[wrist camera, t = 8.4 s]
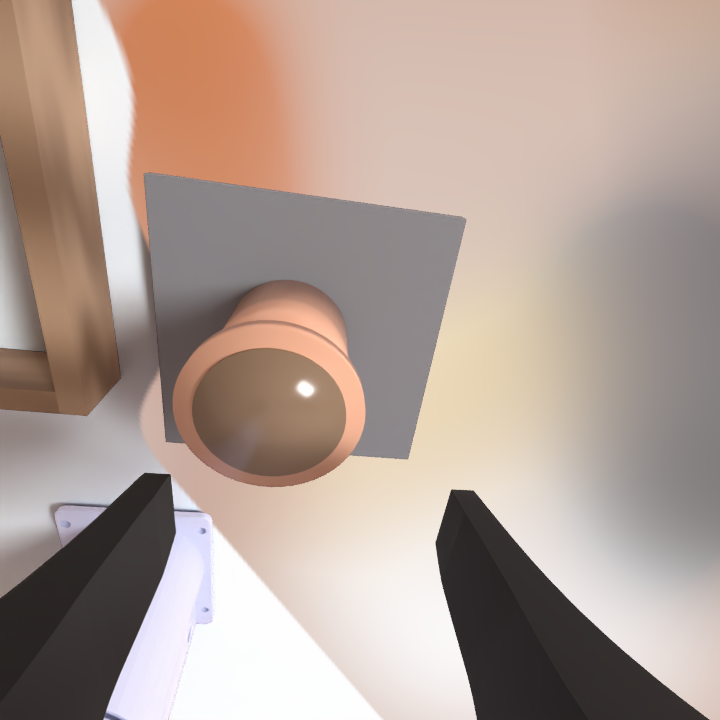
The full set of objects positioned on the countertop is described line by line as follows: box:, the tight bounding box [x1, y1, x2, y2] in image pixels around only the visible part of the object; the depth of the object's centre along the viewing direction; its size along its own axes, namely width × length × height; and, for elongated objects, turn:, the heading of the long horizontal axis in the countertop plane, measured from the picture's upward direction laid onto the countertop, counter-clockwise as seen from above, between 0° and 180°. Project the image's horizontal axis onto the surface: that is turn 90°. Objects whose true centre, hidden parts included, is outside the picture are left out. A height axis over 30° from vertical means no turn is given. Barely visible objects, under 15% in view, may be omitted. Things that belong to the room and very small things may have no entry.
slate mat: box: [144, 173, 466, 459], centre depth 19 cm, size 12×12×1 cm
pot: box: [172, 280, 366, 487], centre depth 16 cm, size 6×6×6 cm
